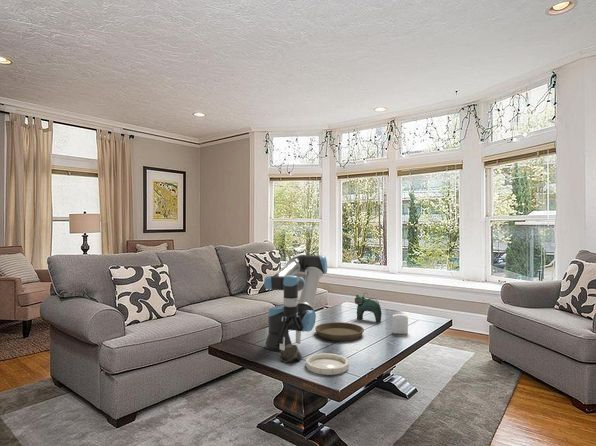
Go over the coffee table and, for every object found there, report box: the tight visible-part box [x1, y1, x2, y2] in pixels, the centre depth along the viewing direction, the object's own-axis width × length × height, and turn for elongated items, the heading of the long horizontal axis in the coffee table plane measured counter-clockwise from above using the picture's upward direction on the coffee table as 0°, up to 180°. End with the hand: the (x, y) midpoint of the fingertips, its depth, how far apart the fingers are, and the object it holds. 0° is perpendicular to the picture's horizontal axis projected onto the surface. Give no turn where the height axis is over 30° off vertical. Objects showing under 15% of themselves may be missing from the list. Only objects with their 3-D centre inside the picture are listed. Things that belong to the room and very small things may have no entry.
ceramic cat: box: [354, 292, 382, 323], centre depth 275 cm, size 20×6×20 cm, turn 55°
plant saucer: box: [314, 321, 365, 342], centre depth 239 cm, size 31×31×5 cm
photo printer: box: [391, 313, 409, 335], centre depth 242 cm, size 10×4×12 cm, turn 84°
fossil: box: [279, 344, 303, 364], centre depth 195 cm, size 11×9×10 cm
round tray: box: [305, 352, 350, 376], centre depth 186 cm, size 21×21×3 cm
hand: (290, 346), depth 194 cm, fingers open, 13 cm apart
